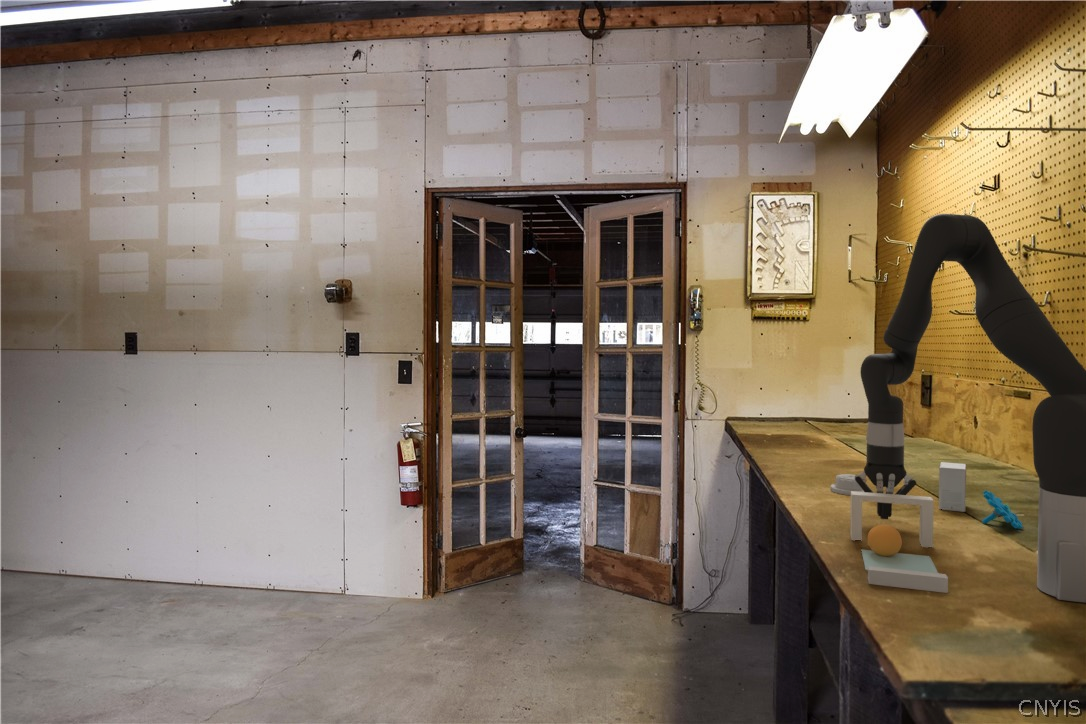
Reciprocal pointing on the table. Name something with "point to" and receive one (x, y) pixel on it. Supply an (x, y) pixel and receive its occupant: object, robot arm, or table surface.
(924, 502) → the bridge
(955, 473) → the small box
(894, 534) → the ball
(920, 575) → the stopper wall
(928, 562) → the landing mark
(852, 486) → the mechanical component
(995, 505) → the blue branched figurine
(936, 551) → the table surface
